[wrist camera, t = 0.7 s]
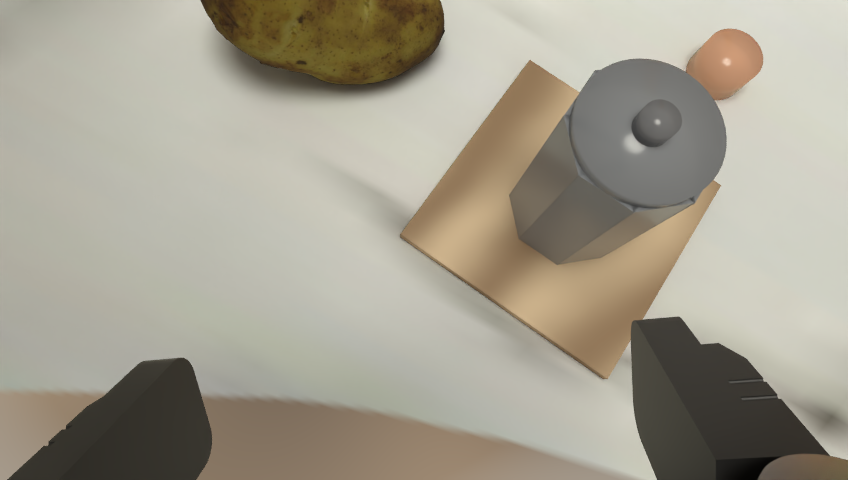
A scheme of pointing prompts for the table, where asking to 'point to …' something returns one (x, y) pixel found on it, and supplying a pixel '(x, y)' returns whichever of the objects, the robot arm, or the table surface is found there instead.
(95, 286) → the table surface
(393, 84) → the table surface
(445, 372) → the table surface
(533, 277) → the mat
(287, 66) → the potato
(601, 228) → the grey lidded canister
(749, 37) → the peach cylinder
